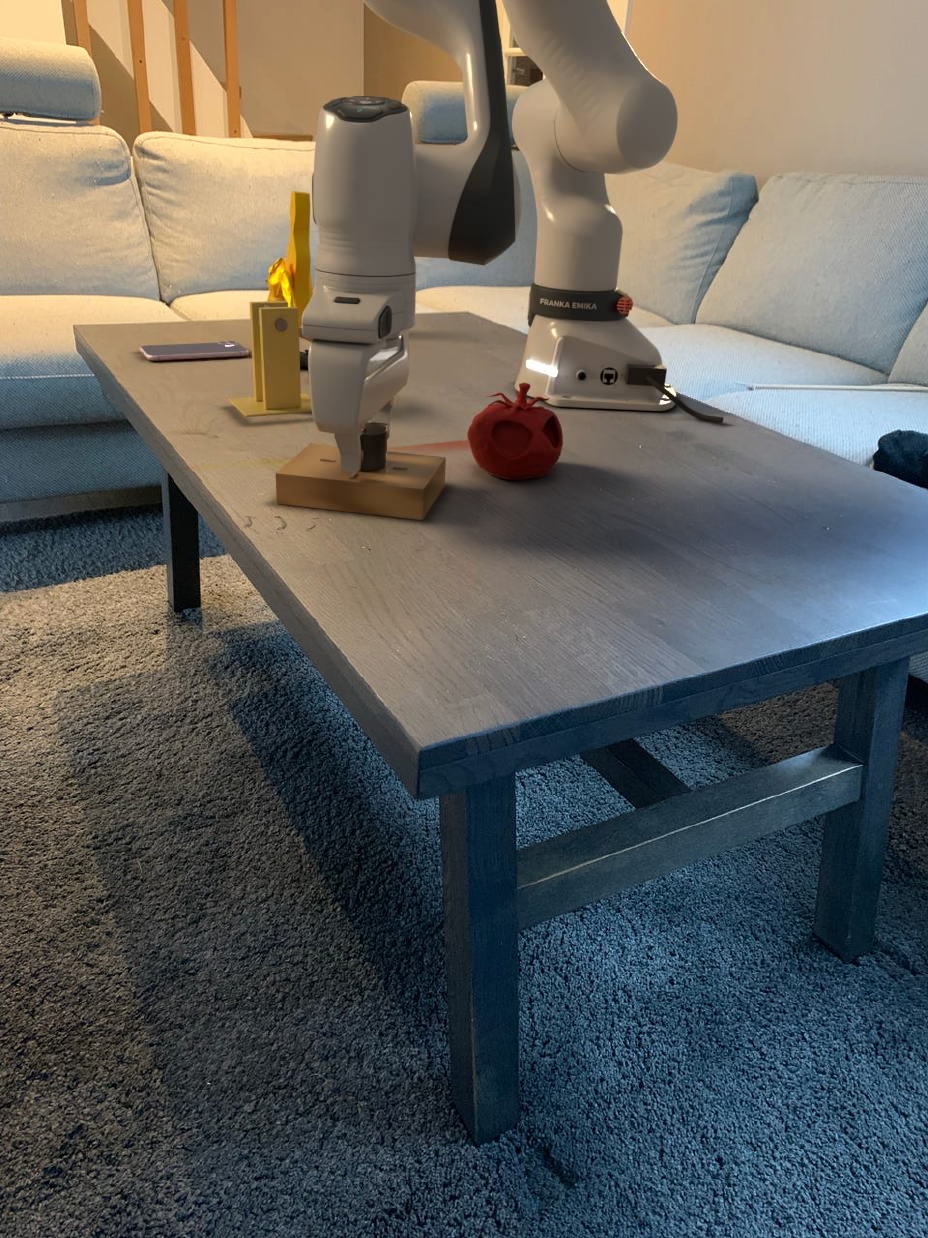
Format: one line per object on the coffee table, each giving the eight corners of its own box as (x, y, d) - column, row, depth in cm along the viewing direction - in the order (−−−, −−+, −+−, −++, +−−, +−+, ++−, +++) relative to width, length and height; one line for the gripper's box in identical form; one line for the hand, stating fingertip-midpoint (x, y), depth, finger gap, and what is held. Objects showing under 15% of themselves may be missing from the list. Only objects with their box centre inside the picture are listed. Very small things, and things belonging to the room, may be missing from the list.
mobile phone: (137, 344, 144) (237, 339, 150) (138, 350, 145) (237, 346, 151) (147, 354, 138) (250, 349, 144) (148, 361, 139) (250, 356, 145)
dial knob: (346, 455, 94) (346, 417, 92) (390, 459, 94) (391, 420, 92) (335, 469, 90) (334, 429, 89) (381, 473, 90) (381, 433, 88)
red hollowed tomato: (451, 460, 104) (455, 374, 100) (534, 453, 108) (541, 370, 104) (490, 490, 96) (496, 397, 92) (577, 481, 100) (587, 392, 96)
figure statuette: (257, 323, 170) (250, 186, 160) (301, 322, 173) (297, 187, 163) (280, 343, 155) (275, 194, 145) (327, 341, 158) (325, 195, 148)
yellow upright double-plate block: (306, 402, 123) (304, 298, 117) (327, 418, 117) (326, 309, 111) (229, 407, 119) (222, 300, 113) (246, 424, 113) (240, 311, 107)
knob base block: (444, 485, 97) (445, 455, 95) (422, 520, 88) (423, 487, 87) (311, 471, 99) (310, 441, 97) (276, 503, 90) (275, 471, 89)
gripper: (363, 285, 95) (363, 423, 101) (293, 320, 77) (299, 485, 83) (425, 290, 94) (422, 428, 100) (370, 326, 76) (369, 492, 82)
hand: (366, 455), depth 92 cm, fingers open, 8 cm apart
